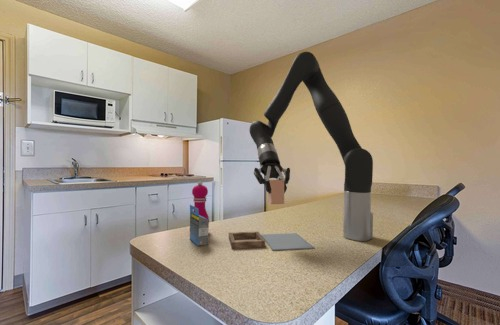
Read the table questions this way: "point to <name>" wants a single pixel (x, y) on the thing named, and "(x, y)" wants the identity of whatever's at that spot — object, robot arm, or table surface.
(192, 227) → the label tape cartridge
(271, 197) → the terracotta block
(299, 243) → the slate mat
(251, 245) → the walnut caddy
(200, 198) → the pepper mill
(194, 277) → the table surface
